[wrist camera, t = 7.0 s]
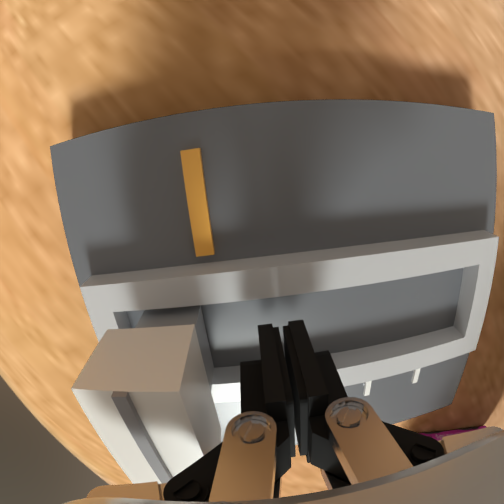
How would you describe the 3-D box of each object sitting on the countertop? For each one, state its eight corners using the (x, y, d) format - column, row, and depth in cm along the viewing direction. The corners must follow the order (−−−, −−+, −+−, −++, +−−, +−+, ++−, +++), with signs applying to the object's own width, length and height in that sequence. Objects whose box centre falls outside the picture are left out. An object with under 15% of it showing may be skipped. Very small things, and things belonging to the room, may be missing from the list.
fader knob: (203, 283, 12) (178, 397, 6) (223, 380, 14) (218, 495, 8) (132, 290, 12) (68, 393, 6) (162, 383, 14) (134, 490, 8)
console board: (469, 114, 12) (509, 112, 9) (439, 386, 18) (458, 415, 15) (72, 145, 12) (34, 147, 9) (156, 429, 18) (147, 465, 15)
